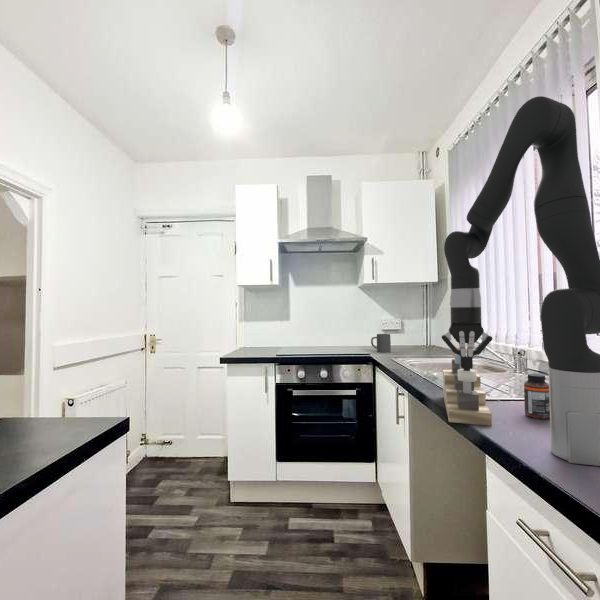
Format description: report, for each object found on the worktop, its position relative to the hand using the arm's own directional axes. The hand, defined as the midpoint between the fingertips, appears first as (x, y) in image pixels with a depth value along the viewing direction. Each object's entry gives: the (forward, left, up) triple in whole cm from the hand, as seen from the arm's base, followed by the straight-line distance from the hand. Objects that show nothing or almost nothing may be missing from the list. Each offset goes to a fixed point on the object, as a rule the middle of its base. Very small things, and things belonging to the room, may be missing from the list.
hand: (466, 370), depth 98 cm
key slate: (+9, 0, -4) cm, 10 cm away
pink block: (+18, 0, -3) cm, 19 cm away
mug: (+144, +39, -13) cm, 150 cm away
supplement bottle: (+7, -18, -13) cm, 23 cm away
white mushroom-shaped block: (0, 0, -7) cm, 7 cm away
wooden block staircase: (+9, 0, -13) cm, 16 cm away
